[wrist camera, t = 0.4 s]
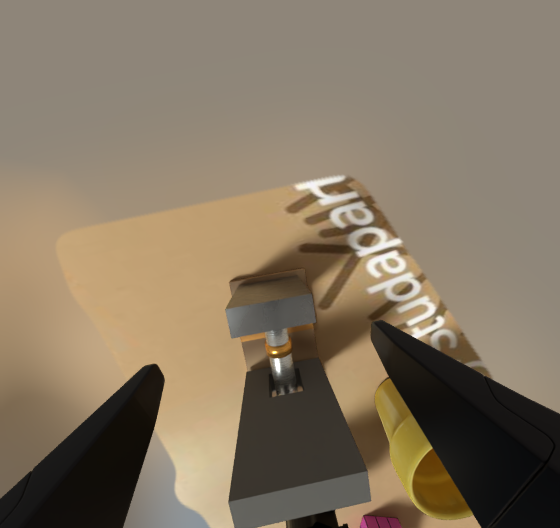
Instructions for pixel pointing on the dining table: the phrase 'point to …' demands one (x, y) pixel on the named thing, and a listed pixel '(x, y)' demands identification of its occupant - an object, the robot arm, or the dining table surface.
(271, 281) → the metal rod with plate
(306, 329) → the clear base plate
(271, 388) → the grey flat slab
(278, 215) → the dining table surface
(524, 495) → the robot arm
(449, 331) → the dining table surface
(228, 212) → the dining table surface
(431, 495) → the yellow cup
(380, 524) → the puzzle toy
